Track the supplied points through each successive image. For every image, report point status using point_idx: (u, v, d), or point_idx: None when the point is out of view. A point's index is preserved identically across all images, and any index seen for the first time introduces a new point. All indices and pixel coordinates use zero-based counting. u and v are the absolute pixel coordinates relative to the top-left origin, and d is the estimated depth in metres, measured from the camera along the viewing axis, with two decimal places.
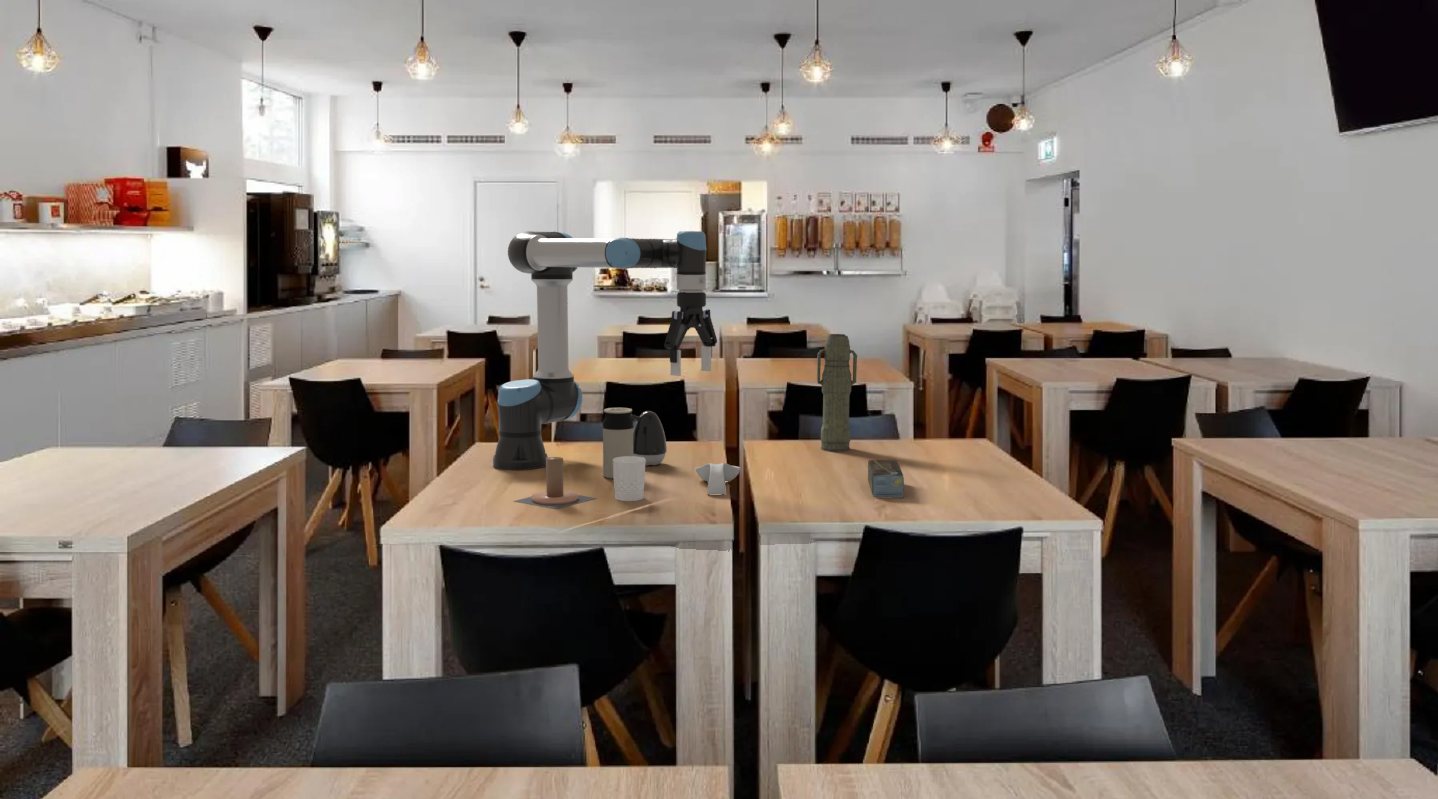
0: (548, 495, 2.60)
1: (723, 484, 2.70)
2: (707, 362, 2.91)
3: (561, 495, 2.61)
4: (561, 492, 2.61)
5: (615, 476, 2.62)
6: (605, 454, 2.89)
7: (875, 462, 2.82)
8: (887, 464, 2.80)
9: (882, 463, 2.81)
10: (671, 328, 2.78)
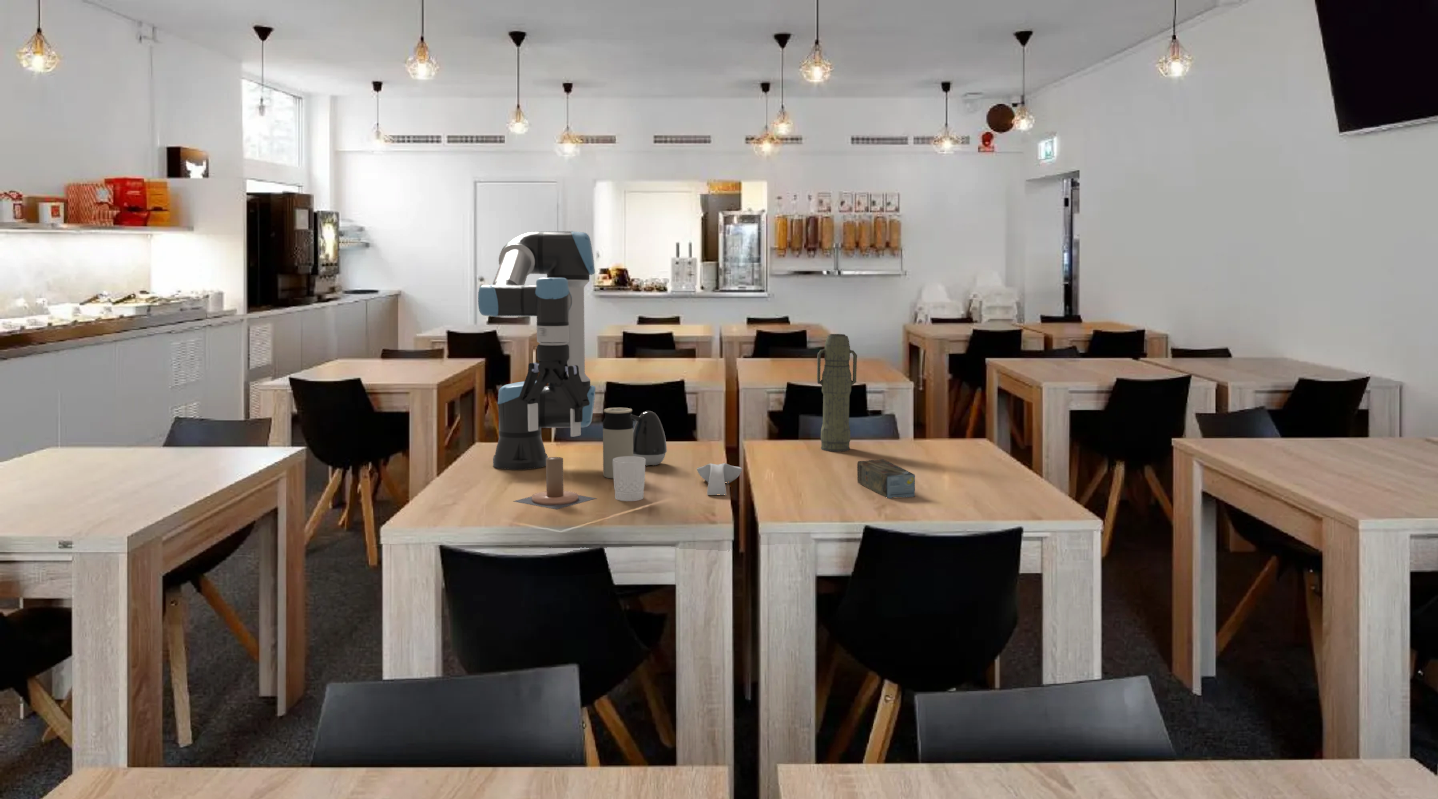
0: (548, 495, 2.60)
1: (723, 484, 2.69)
2: None
3: (561, 495, 2.61)
4: (561, 492, 2.61)
5: (615, 476, 2.62)
6: (605, 454, 2.89)
7: (869, 463, 2.81)
8: (883, 464, 2.80)
9: (877, 463, 2.80)
10: None
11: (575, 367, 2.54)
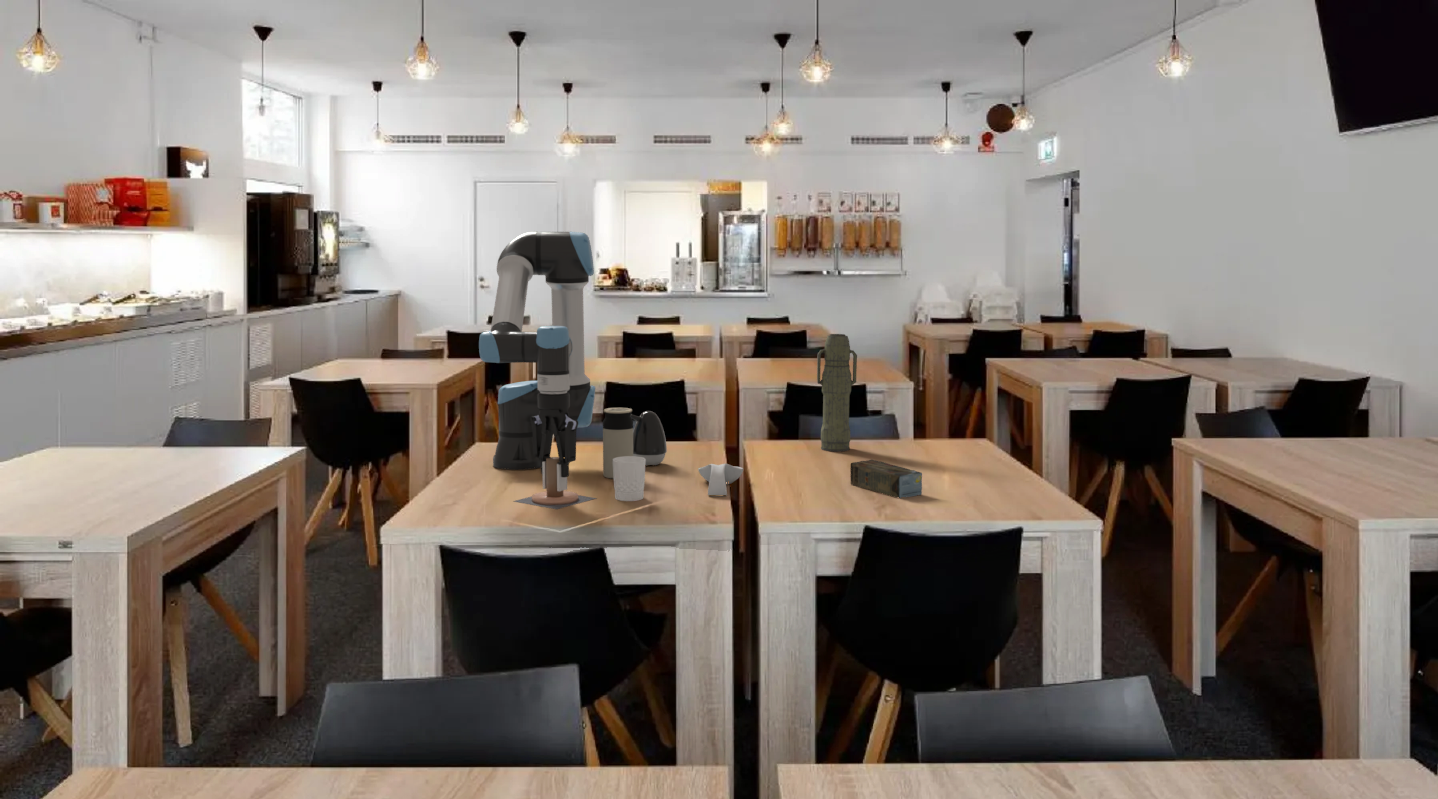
0: (548, 495, 2.60)
1: (724, 485, 2.69)
2: None
3: (561, 495, 2.61)
4: (561, 492, 2.61)
5: (615, 476, 2.62)
6: (605, 454, 2.89)
7: (866, 464, 2.80)
8: (880, 464, 2.80)
9: (874, 464, 2.80)
10: None
11: (575, 423, 2.56)
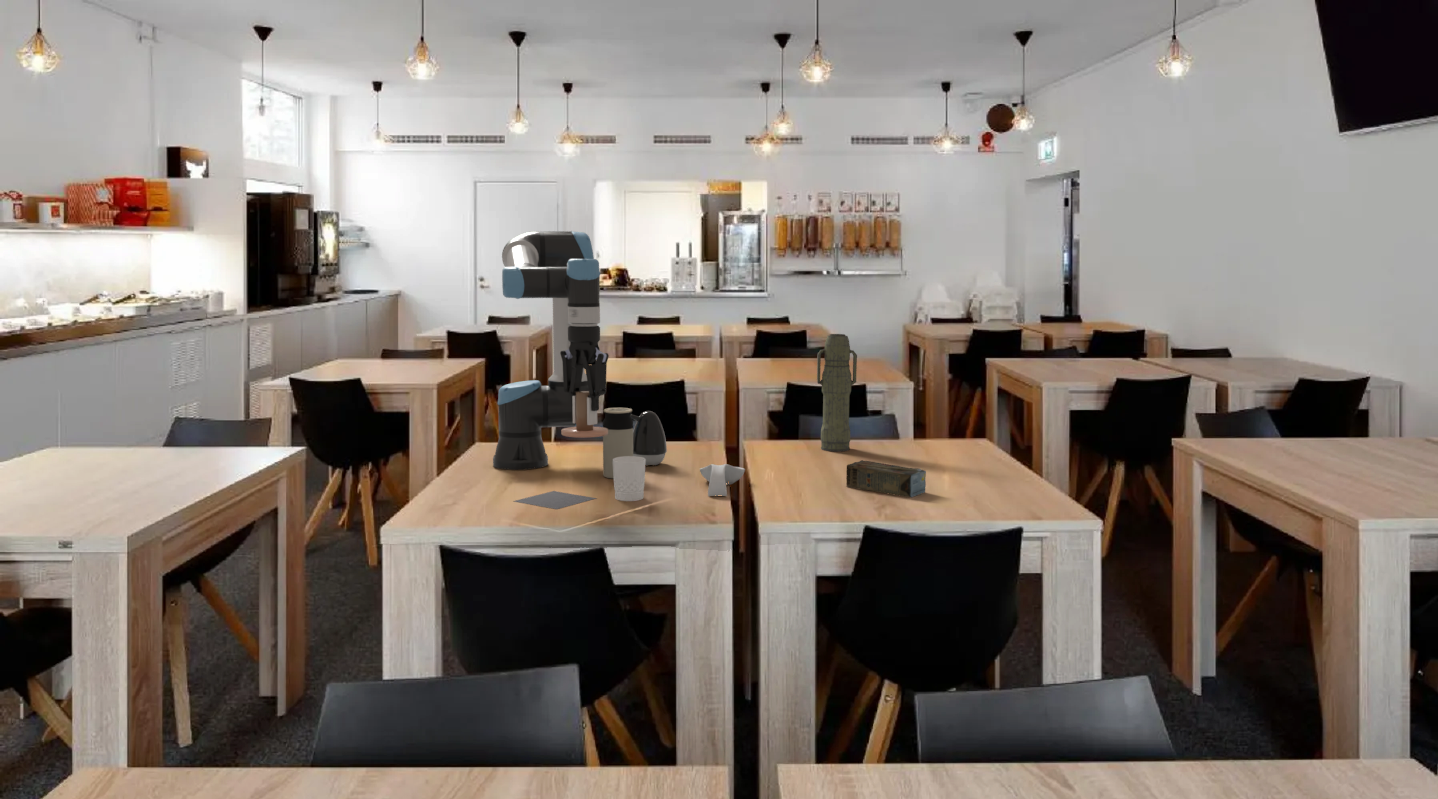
0: (578, 429, 2.59)
1: (724, 485, 2.68)
2: None
3: (591, 429, 2.59)
4: (591, 426, 2.59)
5: (615, 476, 2.62)
6: (605, 454, 2.89)
7: (864, 465, 2.78)
8: (878, 464, 2.79)
9: (872, 464, 2.79)
10: None
11: (605, 356, 2.55)
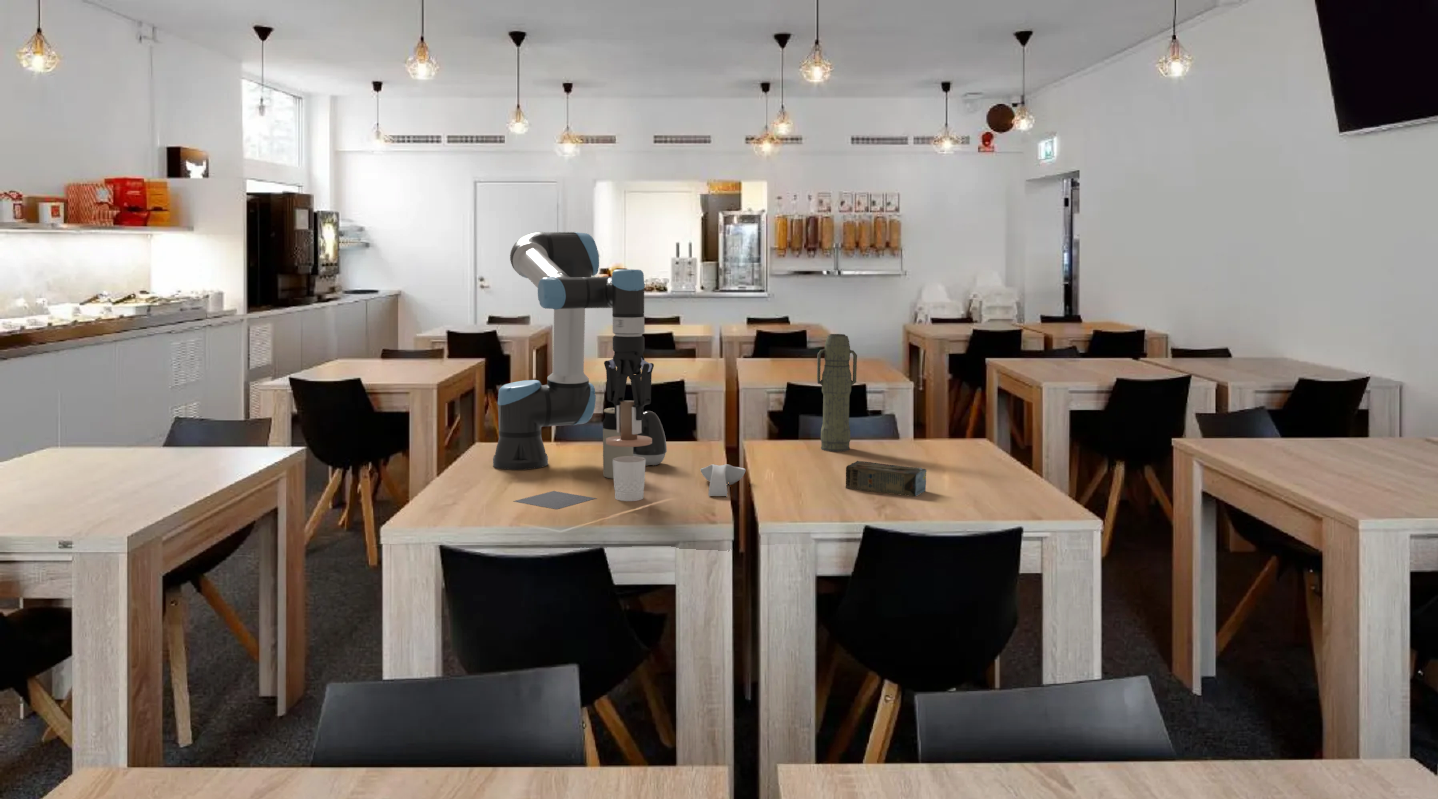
0: (622, 438, 2.61)
1: (724, 486, 2.68)
2: None
3: (635, 438, 2.61)
4: (635, 435, 2.61)
5: (615, 476, 2.62)
6: (605, 454, 2.89)
7: (864, 465, 2.77)
8: (877, 465, 2.79)
9: (871, 465, 2.78)
10: None
11: (651, 366, 2.57)
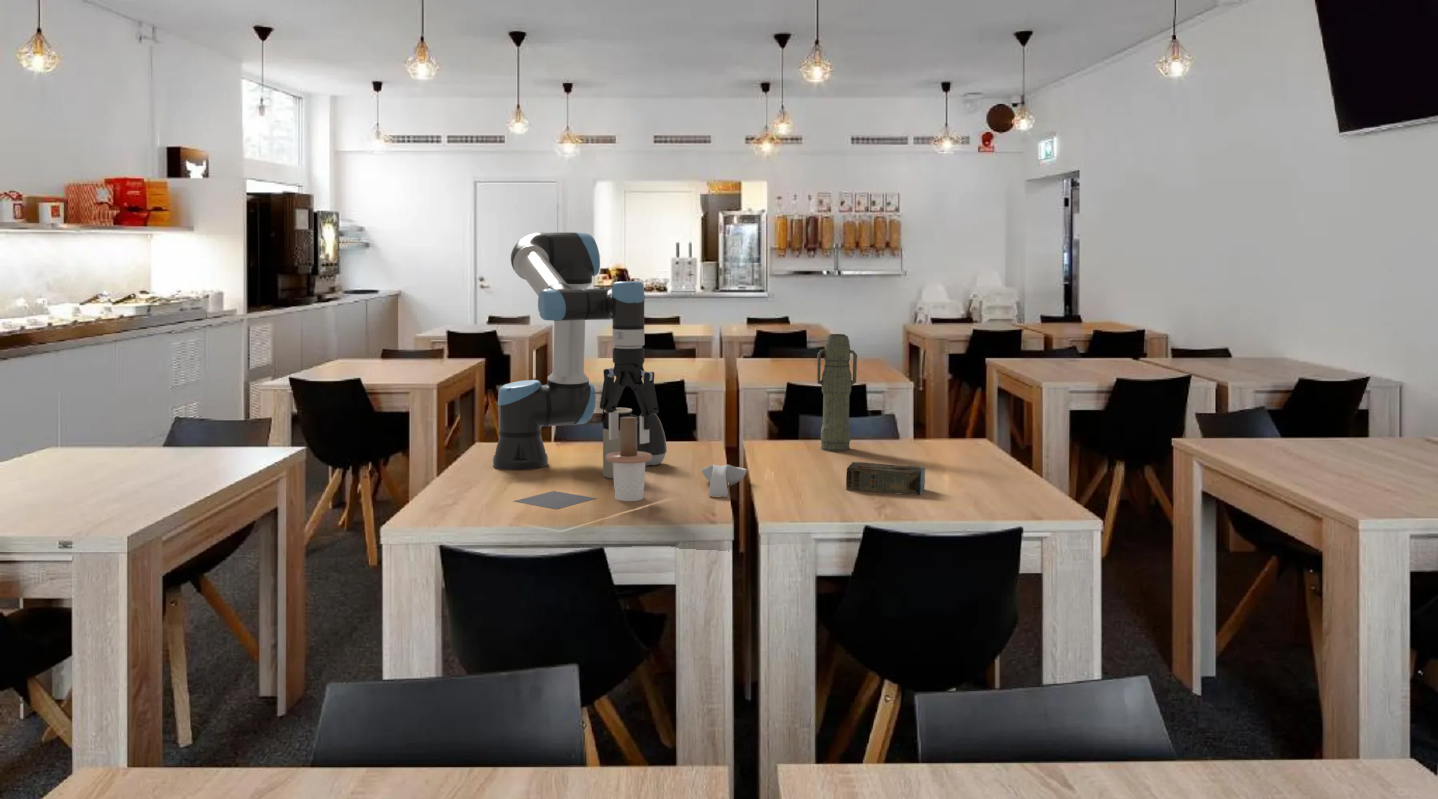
0: (622, 454, 2.62)
1: (725, 486, 2.68)
2: None
3: (635, 454, 2.62)
4: (635, 451, 2.62)
5: (615, 476, 2.62)
6: (605, 454, 2.89)
7: (865, 466, 2.76)
8: (876, 465, 2.78)
9: (871, 465, 2.78)
10: None
11: (651, 374, 2.57)
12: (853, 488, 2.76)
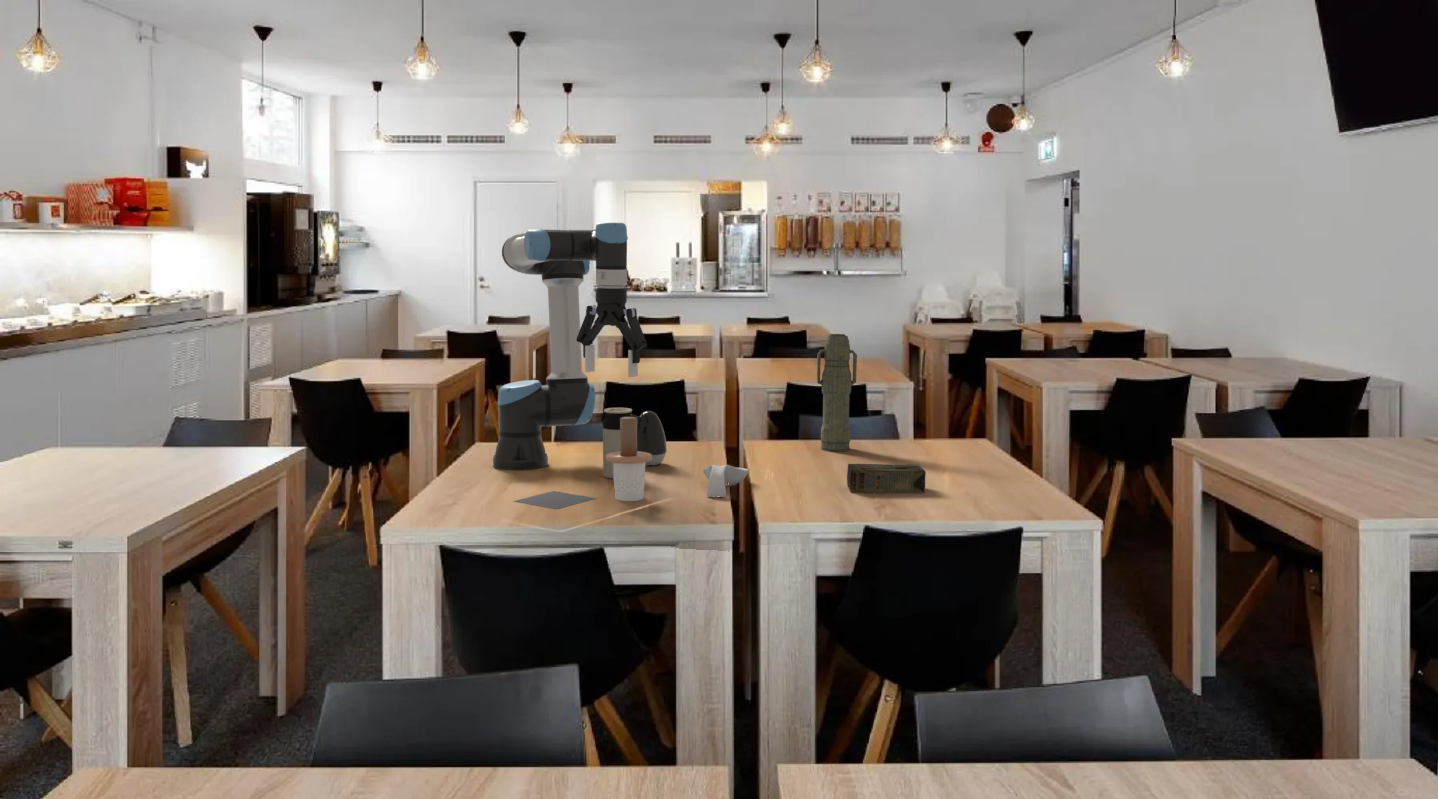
0: (622, 454, 2.62)
1: (723, 486, 2.67)
2: None
3: (635, 454, 2.62)
4: (635, 451, 2.62)
5: (615, 476, 2.62)
6: (605, 454, 2.89)
7: (868, 467, 2.75)
8: (875, 465, 2.78)
9: (871, 466, 2.76)
10: None
11: (633, 310, 2.62)
12: (858, 490, 2.74)
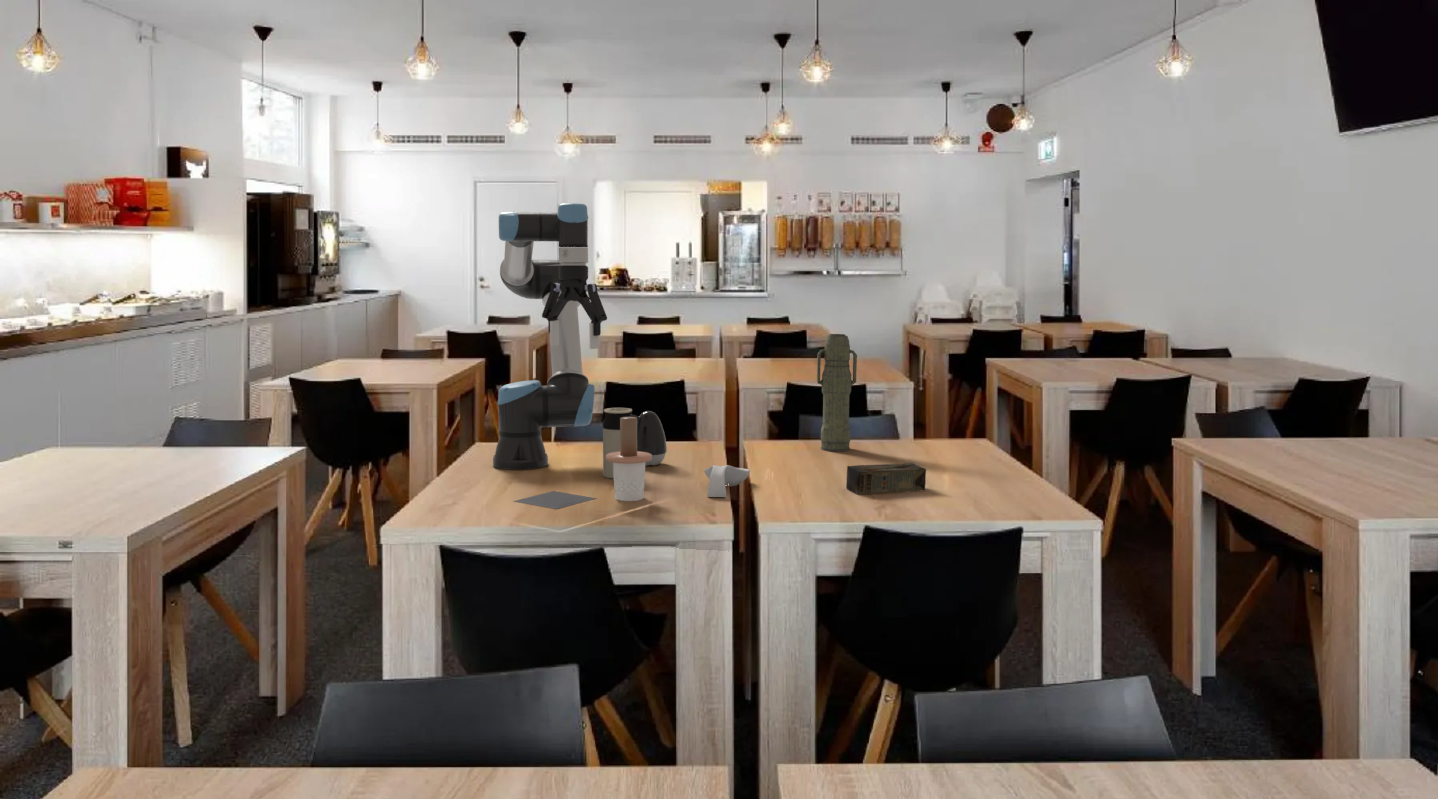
0: (622, 454, 2.62)
1: (723, 486, 2.67)
2: None
3: (635, 454, 2.62)
4: (635, 451, 2.62)
5: (615, 476, 2.62)
6: (605, 454, 2.89)
7: (873, 469, 2.73)
8: (875, 466, 2.77)
9: (873, 467, 2.75)
10: None
11: (594, 285, 2.78)
12: (865, 492, 2.72)
